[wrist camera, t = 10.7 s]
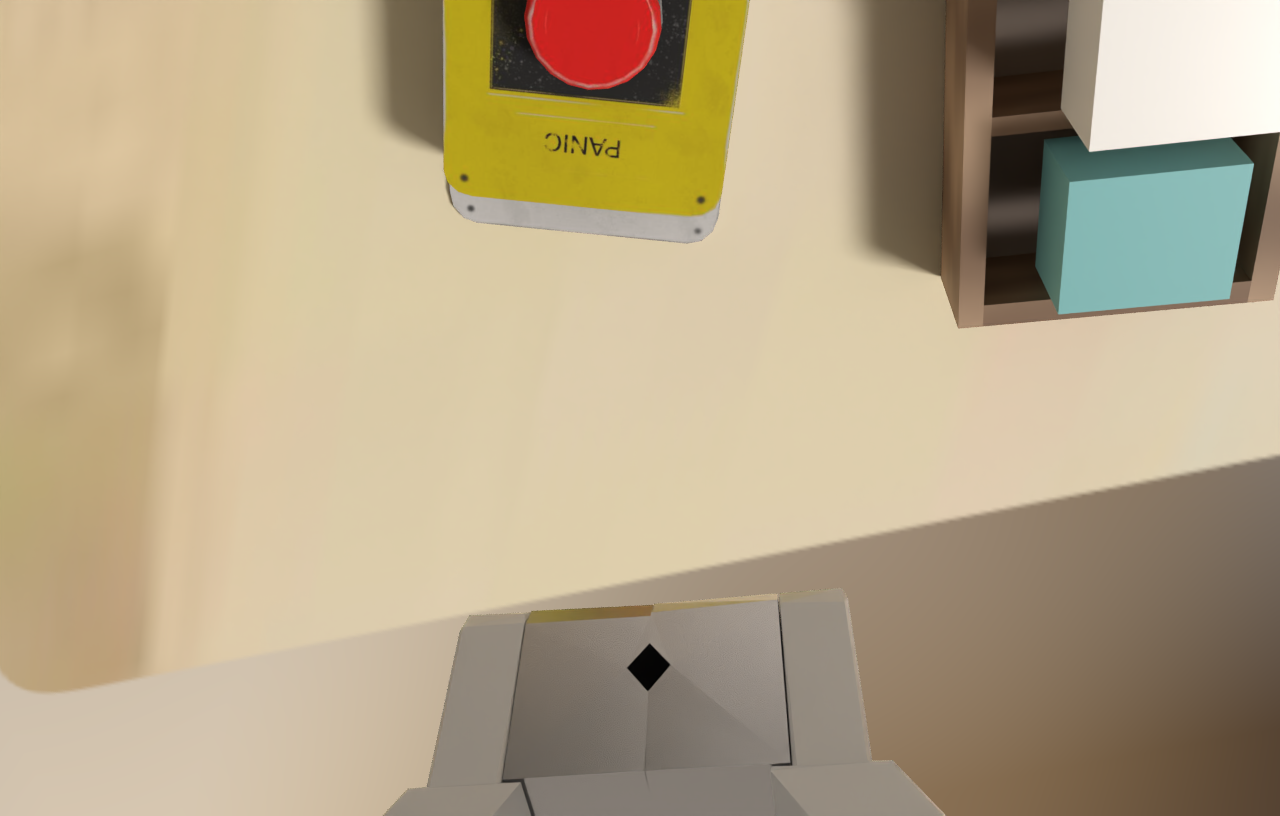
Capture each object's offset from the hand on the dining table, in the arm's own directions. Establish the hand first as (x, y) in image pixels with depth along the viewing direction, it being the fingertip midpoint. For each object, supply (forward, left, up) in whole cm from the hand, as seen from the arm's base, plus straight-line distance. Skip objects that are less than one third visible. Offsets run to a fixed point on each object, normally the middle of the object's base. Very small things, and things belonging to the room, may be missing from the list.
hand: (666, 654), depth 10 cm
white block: (+5, +13, -27) cm, 31 cm away
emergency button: (+5, -3, -32) cm, 32 cm away
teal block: (+11, +13, -29) cm, 33 cm away
